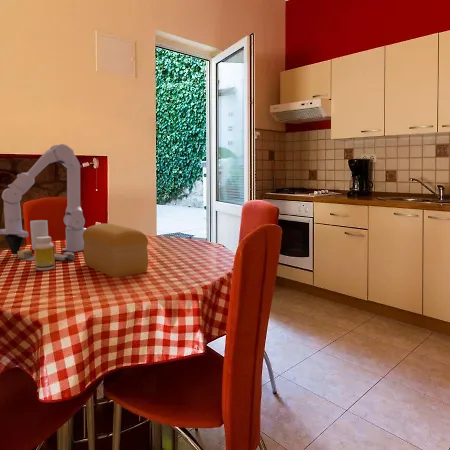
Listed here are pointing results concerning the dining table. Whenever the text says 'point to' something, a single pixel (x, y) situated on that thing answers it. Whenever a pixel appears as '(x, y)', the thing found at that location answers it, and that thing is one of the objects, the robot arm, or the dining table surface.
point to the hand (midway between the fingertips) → (15, 253)
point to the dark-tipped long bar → (68, 257)
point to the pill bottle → (44, 253)
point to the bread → (115, 250)
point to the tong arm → (61, 256)
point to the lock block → (25, 253)
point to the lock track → (28, 258)
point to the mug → (38, 230)
